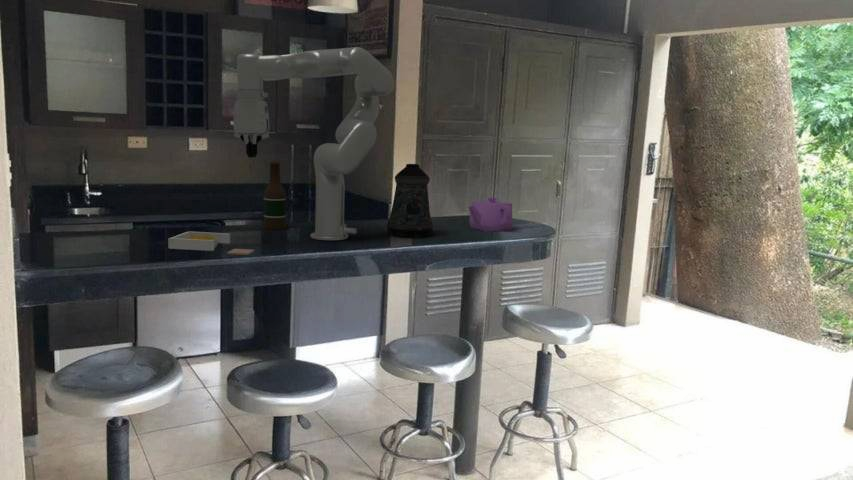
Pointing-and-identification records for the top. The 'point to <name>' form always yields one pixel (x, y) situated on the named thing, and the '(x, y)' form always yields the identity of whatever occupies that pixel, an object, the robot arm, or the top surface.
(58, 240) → the top surface
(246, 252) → the tile
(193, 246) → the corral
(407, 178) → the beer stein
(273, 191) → the beer bottle
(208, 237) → the bread roll
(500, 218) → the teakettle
